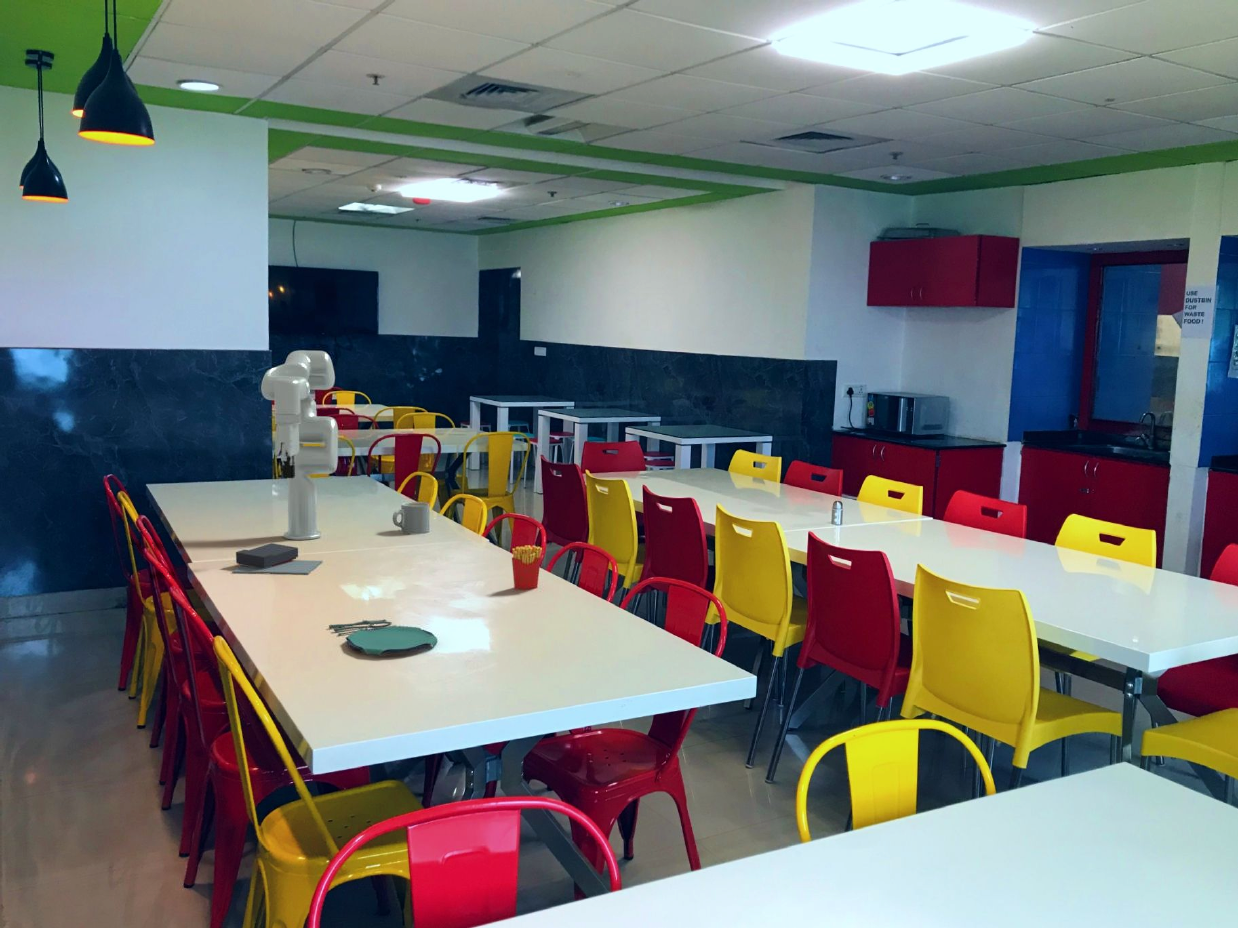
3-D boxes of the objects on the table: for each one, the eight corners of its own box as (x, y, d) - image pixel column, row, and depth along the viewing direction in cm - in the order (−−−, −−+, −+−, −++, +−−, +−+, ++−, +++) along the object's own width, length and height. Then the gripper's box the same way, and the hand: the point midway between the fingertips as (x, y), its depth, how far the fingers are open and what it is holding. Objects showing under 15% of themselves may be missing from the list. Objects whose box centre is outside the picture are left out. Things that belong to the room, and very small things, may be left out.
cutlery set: (365, 664, 220) (365, 653, 220) (320, 631, 244) (320, 622, 244) (449, 650, 231) (449, 640, 231) (397, 621, 256) (397, 612, 255)
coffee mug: (426, 528, 372) (426, 501, 371) (432, 533, 363) (432, 505, 362) (389, 530, 367) (389, 502, 366) (394, 535, 358) (394, 507, 357)
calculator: (272, 554, 318) (235, 565, 305) (271, 541, 317) (235, 552, 304) (299, 559, 314) (263, 571, 300) (298, 545, 313) (262, 557, 299)
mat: (251, 560, 313) (250, 559, 313) (322, 562, 313) (322, 560, 313) (232, 573, 297) (232, 571, 297) (308, 574, 298) (308, 572, 298)
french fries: (513, 590, 286) (514, 548, 284) (510, 586, 289) (510, 545, 288) (542, 588, 289) (543, 547, 287) (538, 584, 292) (539, 544, 291)
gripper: (283, 415, 318) (284, 473, 321) (267, 421, 303) (269, 481, 306) (307, 416, 318) (308, 474, 321) (292, 422, 304) (293, 482, 307)
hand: (289, 477), depth 314 cm, fingers closed
